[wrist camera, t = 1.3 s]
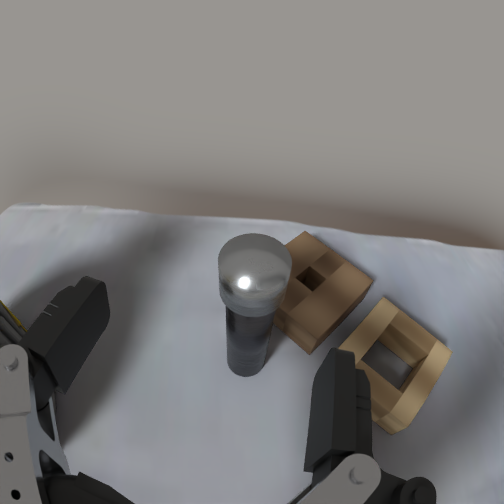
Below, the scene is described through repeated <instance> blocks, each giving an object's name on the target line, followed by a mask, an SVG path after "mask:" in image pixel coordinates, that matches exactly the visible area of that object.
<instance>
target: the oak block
mask: <svg viewBox="0 0 504 504" xmlns="http://www.w3.org/2000/svg"><path fill="white" fill-rule="evenodd" d="M376 340H379V341H380V342H381V343H382V344H384V345H385V346H386V347H387V348H389V349H390V350H391V351H392V352H393V353H395V354H396V355H397V356H398V357H400V358H401V359H402V360H403V361H405V362H406V363H407V364H408V365H410V366H411V367H412V368H413V370H412V371H411V373H410V374H409V376H408V377H407V379H406V380H405V381H404V383H403V384H402V386H401V387H400V389H399V390H398V389H396V388H395V387H394V386H393V385H391V384H390V383H389V382H388V381H386V380H385V379H384V378H383V377H382V376H380V375H379V374H378V373H377V372H375V371H374V370H373V369H372V368H371V367H369V366H368V365H367V364H366V363H364V362H363V361H362V360H361V358H362V357H363V356H364V355H365V354H366V352H367V351H368V350H369V349H370V348H371V346H372V345H373V344H374V343H375V341H376ZM338 349H341V350H346V351H351V352H354V354H355V368H356V369H361V370H364V371H365V373H366V375H367V377H368V380H369V382H370V388H371V398H370V400H371V412H372V420H373V421H374V422H376V423H377V424H378V425H379V426H381V427H382V428H383V429H384V430H385V431H387V432H388V433H389V434H390V435H393V434H395V433H397V432H399V431H401V430H403V429H405V428H407V427H408V426H409V425H410V423H411V422H412V420H413V419H414V417H415V416H416V414H417V413H418V411H419V410H420V408H421V406H422V405H423V403H424V402H425V400H426V398H427V397H428V395H429V393H430V392H431V390H432V388H433V387H434V385H435V383H436V382H437V380H438V378H439V376H440V375H441V373H442V371H443V369H444V367H445V366H446V364H447V362H448V360H449V358H450V356H451V354H452V351H451V350H450V349H449V348H447V347H446V346H445V345H444V344H442V343H441V342H440V341H439V340H437V339H436V338H435V337H434V336H433V335H431V334H430V333H429V332H428V331H426V330H425V329H424V328H423V327H421V326H420V325H419V324H418V323H416V322H415V321H414V320H412V319H411V318H410V317H409V316H407V315H406V314H405V313H404V312H402V311H401V310H400V309H398V308H397V307H396V306H395V305H393V304H392V303H391V302H389V301H388V300H387V299H386V298H384V297H383V298H382V299H381V300H380V301H379V302H378V304H377V305H376V306H375V307H374V308H373V310H372V311H371V312H370V313H369V314H368V315H367V317H366V318H365V319H364V320H363V321H362V322H361V323H360V325H359V326H358V327H357V328H356V329H355V330H354V331H353V332H352V334H351V335H350V336H349V337H348V338H347V339H346V340H345V341H344V342H343V343H342V344H341V346H340V347H339V348H338Z"/></svg>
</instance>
